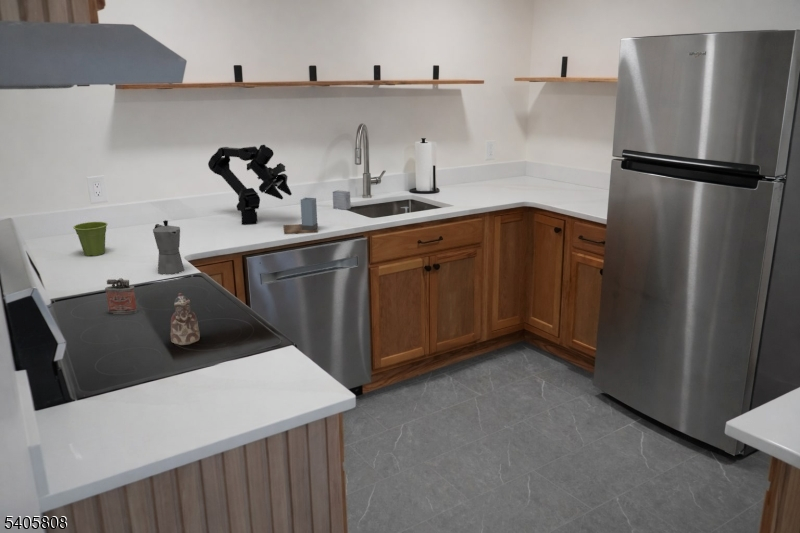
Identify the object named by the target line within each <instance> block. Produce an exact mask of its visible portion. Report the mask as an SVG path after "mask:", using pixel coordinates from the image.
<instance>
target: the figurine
mask: <svg viewBox="0 0 800 533" xmlns="http://www.w3.org/2000/svg"><path fill="white" fill-rule="evenodd" d="M173 306H174V311H175V312H173V314H172V315H171V318H170V341H171V343H174V344H176V345H179V346H185V345H191V344H193V343H196V342H199V341H200V337H201V335H200V329H199V323H198V317H197V316H196V313H195V312H194V311H193V310H191V300H190V299H189V298H188V297H187V296H185V295H183V293H181V292H179V293H178V294H177V297H176V298H175V299H174V302H173Z"/></svg>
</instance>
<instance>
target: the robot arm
mask: <svg viewBox="0 0 800 533" xmlns="http://www.w3.org/2000/svg"><path fill="white" fill-rule="evenodd" d="M273 156H274V150H273V149H272V148H270V147H268V146H266V144H261V145H260V146H259V147H257V146H246V147H229V146H222V147H219V148H218V149H217V151H216V152H215V153H214V154H213V155H212V156H211V157H210V159H209V160H208V163H207V164H208V169H209V170H211V172H213V174H216V175H218V176H221V177H222V179H223V180H224V181H225V182H226V183H227V185H229V186H230V188H231V189H232V190H233V191H234V192H235V194H236V195H237V196H238V202H237V204H236V209H237V211H238V212H240V214H241V215H240V216H241V225H254V224H257V222H258V212H257V211H256V210H259V207H260V202H261V197H260V196H259V193H258V192H257V191H256V190H255V188H253V187H250V188H247V187H246V186H245V185H244V183H243V182H242V181H241V180H240V178H238V177H237V176H236V174H235V173H234V172H233V171H232V170H231V169H230V162H231V158H238V159H240V160H242V161H243V162H247V161H250V162H249V163H246V171H250V170H252V171H253V173H254V174H255V175H256V176H257V177H256V179H258V180H261V181H262V182H261V184H259V186H258V190H259V191H260V192H261V194H262V193H264V194H267V195H269V196H272V197H274V198H277V199H279V200H283V199H284V197H283V195H282V193H280V191H281V192H283V193H284V194H286V195H288V196H290V197H291V196H292V194H293V193H292V191H291V190H290V188H289V186H288V183H287V182H288V178H289V176H288V175H287V174H286V173H285V172H286V171H287V170H286V165H284V164H283V163H282V162H280V163H278V164H276V166H275V167H273V168H272V167H268V166H267V165H268V164H269V162H270V161H271V159H272V158H273ZM283 172H284V173H283Z"/></svg>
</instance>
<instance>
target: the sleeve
mask: <svg viewBox="0 0 800 533" xmlns="http://www.w3.org/2000/svg"><path fill="white" fill-rule="evenodd" d="M317 212H318V208H317V197H304V198H301V199H300V214H301V215H300V216H301V217H300V218H301V224H302V225H301V226H302V230H315V229H317V230H318V228H319V224H318V213H317Z"/></svg>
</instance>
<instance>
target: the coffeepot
mask: <svg viewBox="0 0 800 533" xmlns="http://www.w3.org/2000/svg"><path fill="white" fill-rule="evenodd" d="M152 233H153V235H154V240H155V243H156V247H157V250H158V260H157V261H158V262H157V273H158V274H159V273H160V274H159V275H163V274H171V275H176V274H175V273H177V274H179V272H181V273H182V271H183V272H184V271H185V267H184V264H183V260H182V257H181V253H180V252H181V251H180V245H181V244H180V240H181V239H180V238H181V227H180V226H177V225H176V226H175V225H169V220H166V219H165V220H163V224H159V223H156V224H155V226H154V228H153V229H152Z"/></svg>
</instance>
